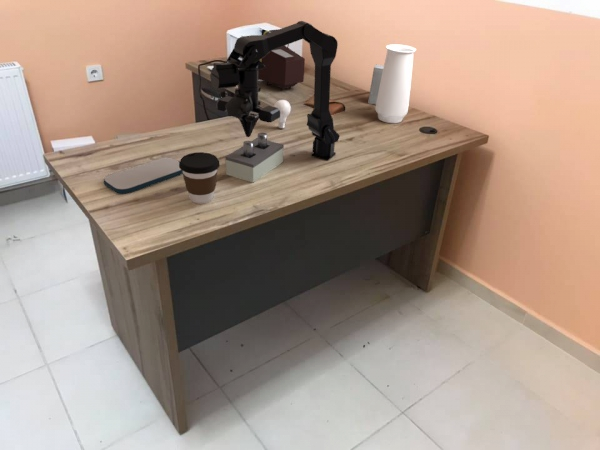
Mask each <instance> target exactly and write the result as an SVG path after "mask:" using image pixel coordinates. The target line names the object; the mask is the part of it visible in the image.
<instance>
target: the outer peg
mask: <svg viewBox="0 0 600 450" xmlns="http://www.w3.org/2000/svg"><path fill="white" fill-rule="evenodd" d="M252 141H253V140H244V141H243V142H242V143H243V146H242V147H243V151H244V157H247V158H252V157H253V142H252Z"/></svg>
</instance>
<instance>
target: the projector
mask: <svg viewBox="0 0 600 450" xmlns="http://www.w3.org/2000/svg"><path fill="white" fill-rule="evenodd" d="M279 29H280V28H279ZM279 29H271V30H266V31H264V32H263V34H262V35H265V34H267V33H270V32H273V31H276V30H279ZM289 46H290V44H287V45H285V46H282V47H279V48H277V49H274V50H272V51H270V52H268V54H267V55H266V56H265V57H264V58H262V59H260V61H261V63H262V64H263V65H265V68H263V69H258V81H259V80H260V81H263V82H264V83H266V86H269V85H270V84H271V85H273V86H275V87H277V88H280V91H283V89H287V88H288V89H289V90H291V88H294V87H295V86H296V85H298V84H299V83H303V82H304V80H305V78H304V77H305V61H306V60H305V57H302V55H299V54H298V53H296V52H295V51H293V50H292V49H290V48H289Z"/></svg>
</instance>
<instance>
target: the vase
mask: <svg viewBox="0 0 600 450" xmlns="http://www.w3.org/2000/svg"><path fill="white" fill-rule="evenodd" d="M385 49H386V50H387V51H386V57H385V59H384V64H383V66H384V68H383V73H382V77H381V82H380V87H379V92H378V97H377V102H376V105H375V107H374V108H375V111H376V113H377V119H378V120H380V121H382V122H384V123H388V124H398V123H401V122H402V121H403V119H404V117H405V116H406V115H407V114H408V112H409V104H410V96H411V87H412V77H413V67H414V66H413V65H414V53H415V52H416V51H417V48H415V47H414V46H411V45H405V44H388V45H386V46H385Z"/></svg>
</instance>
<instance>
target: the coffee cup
mask: <svg viewBox="0 0 600 450" xmlns="http://www.w3.org/2000/svg"><path fill="white" fill-rule="evenodd" d="M220 166H221V165H220V160H219V159H218V157H217V156H216V155H214V154H212V153H208V152H202V151H201V152H191V153H187V154H186V155H183V156H182V157H181V158H180V161H179V168H180V169H181V170H182V171H183V174H182V176H183V181H184V184H185V188H186V191H187V192H188V198H189V199H190V201H191V202H192V203H195V204H197V205H198V204H199V205H200V204H201V205H202V204H204V205H205V204H206V203H207V204H209V203H210V202H212V200H213V198H214V197H215V196H214V195H215V190H216V186H217V185H216V184H217V177H218V169H219V168H220Z"/></svg>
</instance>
